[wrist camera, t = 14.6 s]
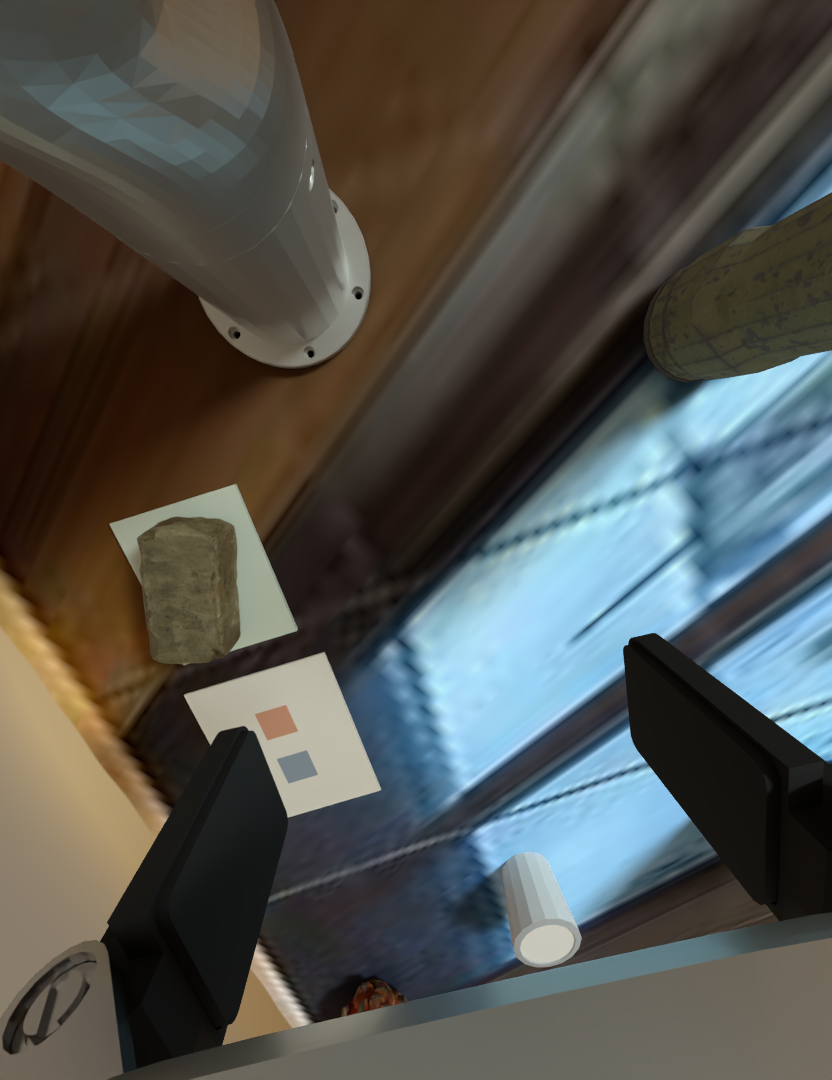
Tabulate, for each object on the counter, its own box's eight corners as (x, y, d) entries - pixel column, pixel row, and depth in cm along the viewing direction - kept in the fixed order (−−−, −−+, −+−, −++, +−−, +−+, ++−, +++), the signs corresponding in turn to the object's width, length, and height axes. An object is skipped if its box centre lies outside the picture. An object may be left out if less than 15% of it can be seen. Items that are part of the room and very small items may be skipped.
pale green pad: (112, 522, 34) (109, 523, 33) (236, 483, 33) (234, 484, 33) (185, 663, 37) (183, 665, 37) (297, 628, 37) (296, 631, 37)
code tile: (184, 694, 38) (183, 695, 38) (324, 651, 38) (324, 653, 37) (255, 825, 42) (254, 827, 42) (380, 788, 42) (380, 790, 42)
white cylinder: (564, 876, 47) (592, 950, 40) (512, 900, 47) (532, 978, 41) (539, 838, 45) (564, 909, 38) (485, 864, 46) (501, 939, 39)
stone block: (180, 638, 36) (147, 669, 31) (166, 512, 33) (128, 525, 28) (246, 638, 36) (223, 669, 32) (237, 514, 34) (212, 528, 29)
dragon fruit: (370, 938, 50) (394, 980, 55) (311, 1010, 45) (343, 1050, 50) (414, 1009, 44) (437, 1050, 48) (350, 1101, 39) (382, 1136, 44)
